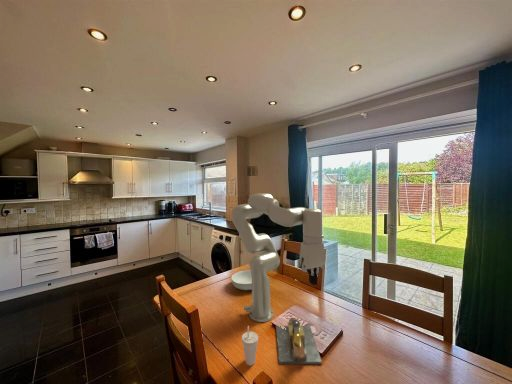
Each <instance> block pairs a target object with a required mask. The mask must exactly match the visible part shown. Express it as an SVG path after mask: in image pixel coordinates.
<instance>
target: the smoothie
mask: <svg viewBox="0 0 512 384" xmlns="http://www.w3.org/2000/svg"><path fill="white" fill-rule="evenodd" d="M241 342H242V346H243V353H244V359H245V364H246V365H247V366H254V365H255V363H256V359H257V358H256V357H257V348H258V342H259V335H258V334H257V332H254V331H250V325H247V331H245V332H244V333H243V334H242V335H241Z"/></svg>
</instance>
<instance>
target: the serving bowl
mask: <svg viewBox="0 0 512 384" xmlns="http://www.w3.org/2000/svg"><path fill="white" fill-rule="evenodd" d="M230 278H231V283H232V285H233V286H234V287H235V288H237V289H238V290H241V291H250V290H251V291H252V279H251V271H250V269H246V270H240V271H237V272H235V273H233V274H232V275H231V277H230Z"/></svg>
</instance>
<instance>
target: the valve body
mask: <svg viewBox="0 0 512 384" xmlns="http://www.w3.org/2000/svg"><path fill="white" fill-rule="evenodd" d="M293 320H297V319H296V318H295V317H290V318H289V319H288V322H287V325H283V326H284V327H285V328H286V330H285V328H284V329H282V328H281V326H282V325H275V331H276V341H277V342H276V343H277V352H278V354H277V355H278V364H279V365H322V364H323V361H322V358H321V356H320V352H319V349H318V347H317V344H316V340H315V336H314V334H313V331H312V328H311V326H310V325H301V324H300V331H299V333H300V335H301V346H300V347H295V346H294V331H293V329H292V321H293ZM279 326H280V327H279ZM317 349H318V350H317Z"/></svg>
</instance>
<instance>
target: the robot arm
mask: <svg viewBox="0 0 512 384" xmlns="http://www.w3.org/2000/svg"><path fill="white" fill-rule="evenodd" d="M264 214H265V215H267V216H268V217H269V219H270V220H271V221H272V222H273V223H275V224H277V225H280V226H283V227H287V228H288V227H289V228H292V227H295V226H301V225H302V233H303V234H302V238H303V239H302V242H301V244H300V248H299V260H298V261H299V266H300V267H301V270H300V271H302V272H303V273H307V274H308V282H309V284H311V285H312V286H316V285H318V276H319V274H320V273H319V272H320V271H321V270H322V269H324V268H325V265H326V251H325V244H324V242H323V239H325V238H324V235H323V213H322V210H320V209H318V208H306V207H303V206H297V207H290V208H285V207H282V206H280V203H279V201H278V199H276V198H274V197H273V196H272V194H270V193H267V192H264V193H263V192H262V193H254V194H251V195H250V196H249V198H248V200H247V203H243V204H242V203H241V204H238V205H236V206H234V207H233V208H232V210H231V221H232V224H233V225H234V227H235V228H236V230H237V232H238V234H239V238H240V239H241V242H242V244H243V246H244V249H245V250H246V252H247V254H250V255H253V254H254V256H253V257H251V258H250V260H249V261H248V262H249V263H248V265H249V270H250V271H251V279H252V289H251V301H252V302H251V304H250V305H244V306H243V310H244V311H245V313H248V314H249V318H250V319H251V320H253V321H254V322H257V323H265V322H266V323H267V322H269V321H270V320H272V319H273V318H274V310H273V309H272V308H271V281H270V278H269V277H268V272H271V271H273V270H275V269H276V268H278V267H279V266H280V263H281V261H280V255H279V254H278V252H277V249H276V247H275V244H274V243H273V241H272V239H271V237H270V236H269V235H268V234H266V233H257V232H256V231H255V229H254V226H253V225H252V224H251V223H250V222H249V221H248V220H249V219H257V218H260V217H261V216H262V215H264ZM261 252H262V253H261ZM257 253H260V254H257ZM255 254H256V255H255Z"/></svg>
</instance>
